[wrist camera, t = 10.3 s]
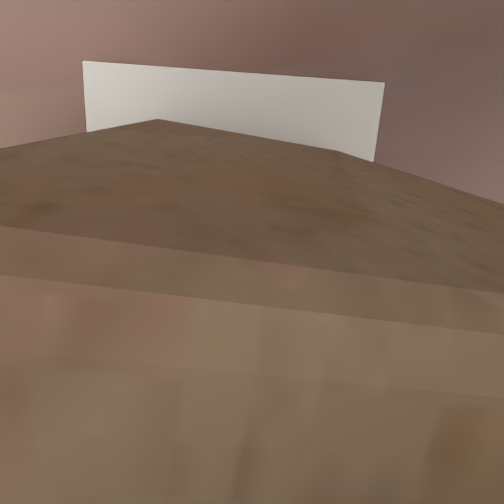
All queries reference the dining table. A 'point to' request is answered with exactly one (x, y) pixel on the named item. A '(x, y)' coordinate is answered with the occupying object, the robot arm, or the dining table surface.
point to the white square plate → (238, 104)
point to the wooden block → (244, 325)
